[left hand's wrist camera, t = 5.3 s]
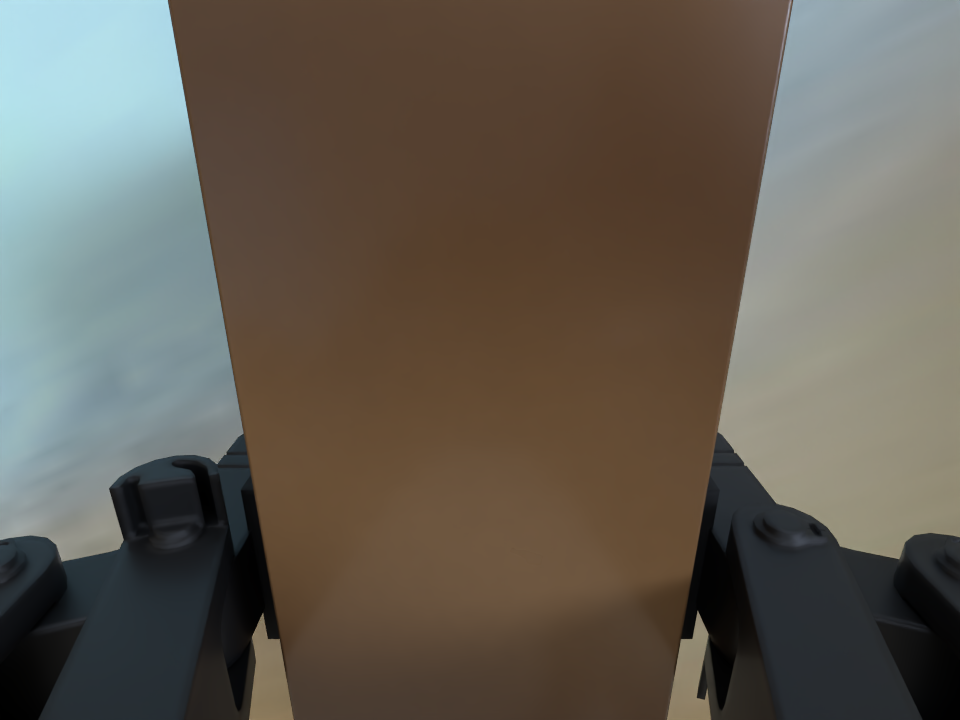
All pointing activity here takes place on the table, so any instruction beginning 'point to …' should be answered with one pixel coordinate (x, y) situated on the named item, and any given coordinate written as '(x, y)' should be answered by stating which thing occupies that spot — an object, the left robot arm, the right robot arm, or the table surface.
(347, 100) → the post
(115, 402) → the table surface
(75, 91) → the table surface
